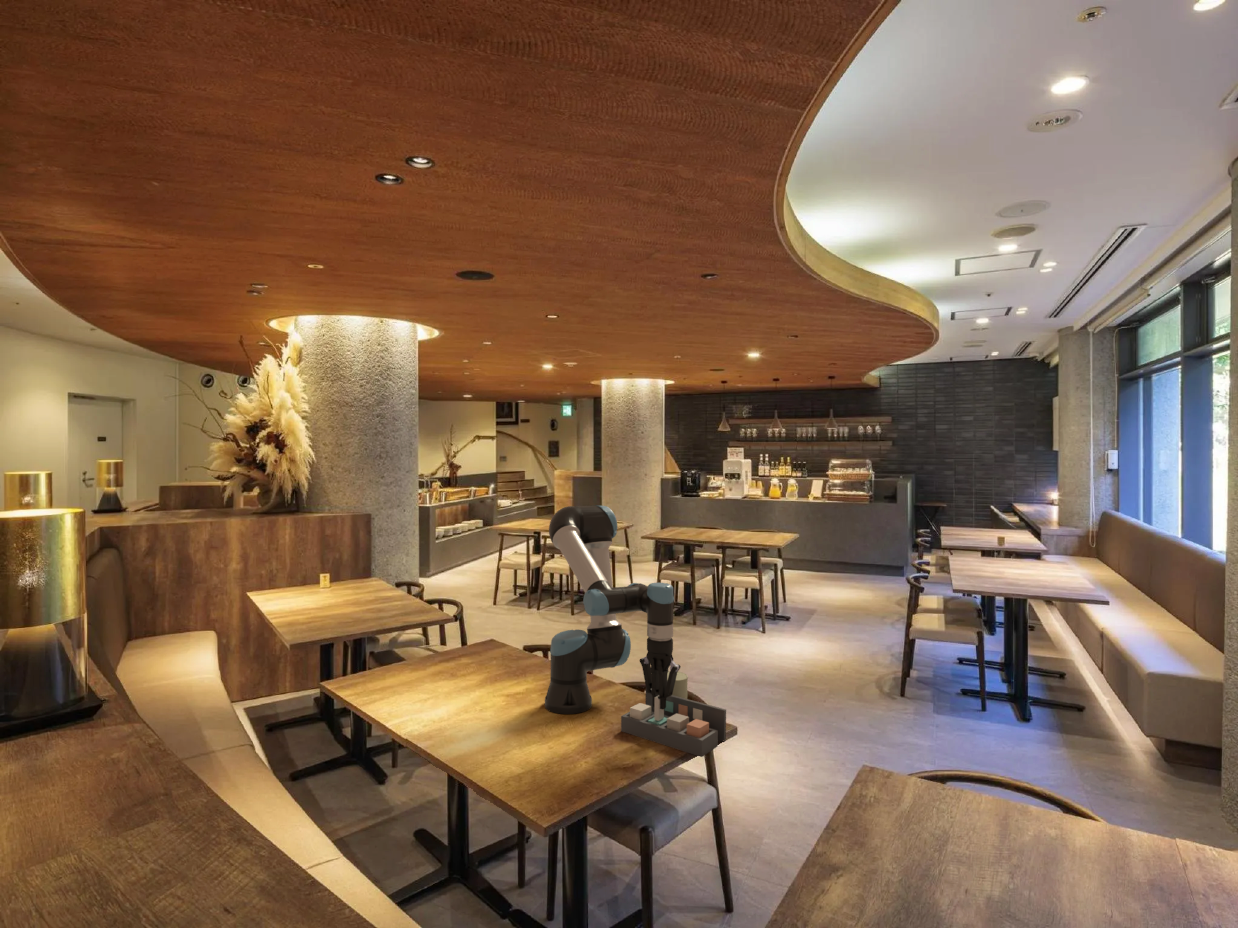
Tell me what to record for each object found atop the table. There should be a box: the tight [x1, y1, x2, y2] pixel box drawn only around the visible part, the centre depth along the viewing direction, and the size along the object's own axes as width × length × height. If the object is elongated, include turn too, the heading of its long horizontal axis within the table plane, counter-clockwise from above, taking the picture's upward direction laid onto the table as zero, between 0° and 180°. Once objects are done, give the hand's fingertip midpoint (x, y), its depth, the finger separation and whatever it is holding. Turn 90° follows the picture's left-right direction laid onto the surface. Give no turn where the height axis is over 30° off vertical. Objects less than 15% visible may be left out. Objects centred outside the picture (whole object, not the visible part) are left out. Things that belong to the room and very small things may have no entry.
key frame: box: [620, 711, 719, 758], centre depth 196 cm, size 27×9×4 cm, turn 53°
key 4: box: [687, 719, 709, 738], centre depth 190 cm, size 4×5×4 cm
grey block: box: [667, 713, 689, 732], centre depth 194 cm, size 4×5×4 cm
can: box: [667, 670, 689, 699], centre depth 216 cm, size 9×9×12 cm
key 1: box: [629, 702, 651, 720], centre depth 202 cm, size 4×5×4 cm
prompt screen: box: [644, 690, 727, 743], centre depth 202 cm, size 27×1×9 cm, turn 53°
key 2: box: [648, 717, 667, 726], centre depth 198 cm, size 4×5×4 cm
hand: (659, 718), depth 198 cm, fingers closed
